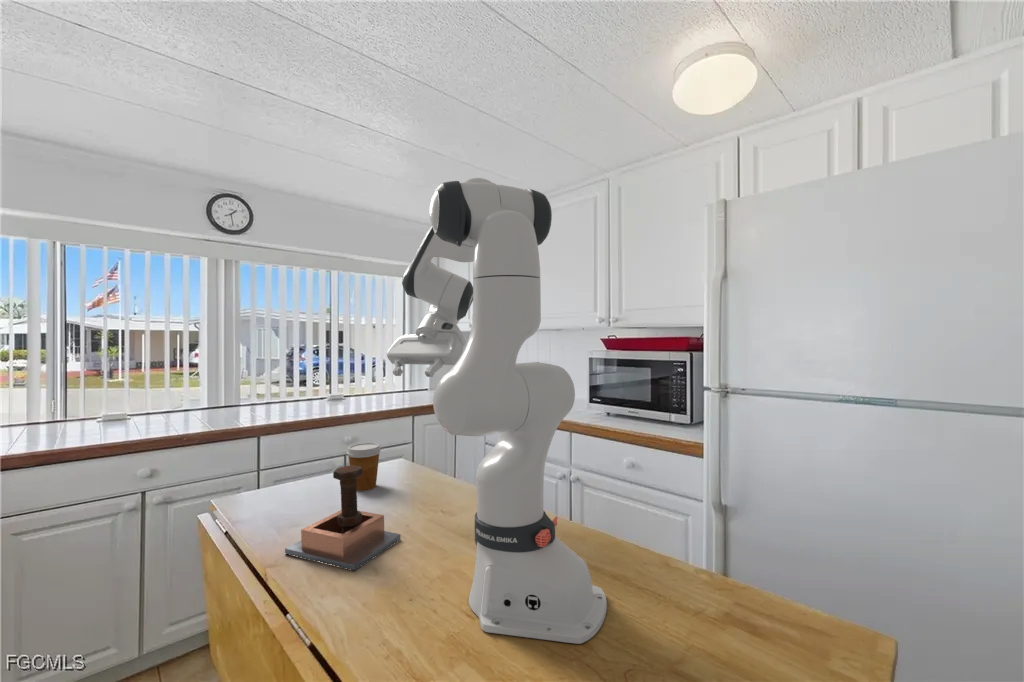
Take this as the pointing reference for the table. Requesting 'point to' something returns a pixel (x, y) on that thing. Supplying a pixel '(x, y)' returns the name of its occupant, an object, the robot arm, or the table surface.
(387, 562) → the table surface
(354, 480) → the bolt
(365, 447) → the disposable coffee cup
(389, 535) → the socket
